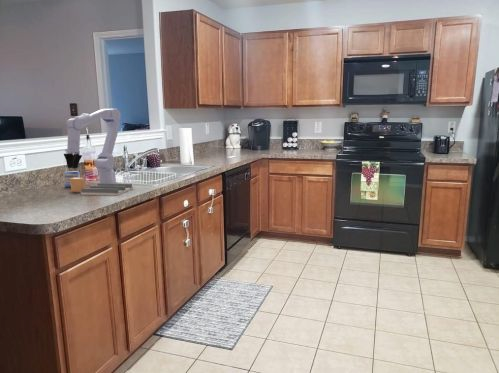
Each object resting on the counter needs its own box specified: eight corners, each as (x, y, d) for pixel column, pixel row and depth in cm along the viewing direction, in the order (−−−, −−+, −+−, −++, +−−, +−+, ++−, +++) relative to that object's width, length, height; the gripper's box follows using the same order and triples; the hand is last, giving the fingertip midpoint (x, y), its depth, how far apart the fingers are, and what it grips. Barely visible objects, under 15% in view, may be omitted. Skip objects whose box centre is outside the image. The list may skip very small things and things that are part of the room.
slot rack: (99, 188, 212) (99, 182, 211) (133, 188, 208) (132, 183, 207) (80, 194, 195) (80, 188, 195) (116, 195, 191) (116, 189, 191)
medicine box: (64, 187, 215) (62, 172, 214) (66, 186, 220) (64, 171, 218) (79, 186, 217) (78, 171, 216) (80, 185, 222) (79, 170, 220)
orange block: (76, 190, 207) (74, 177, 206) (86, 190, 206) (84, 177, 205) (71, 191, 203) (69, 178, 202) (81, 192, 202) (80, 178, 201)
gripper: (70, 142, 205) (69, 167, 206) (60, 140, 191) (59, 167, 191) (84, 143, 206) (83, 168, 206) (75, 141, 192) (74, 168, 192)
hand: (72, 168), depth 199 cm, fingers open, 7 cm apart
